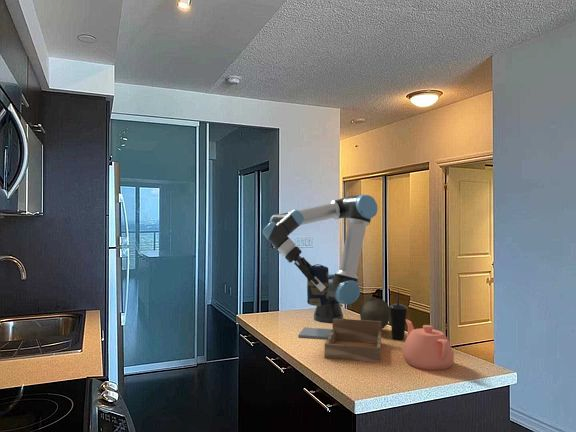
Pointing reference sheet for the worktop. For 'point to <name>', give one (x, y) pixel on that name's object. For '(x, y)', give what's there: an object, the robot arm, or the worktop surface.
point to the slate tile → (315, 333)
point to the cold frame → (354, 340)
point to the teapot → (427, 348)
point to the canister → (313, 292)
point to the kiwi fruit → (375, 311)
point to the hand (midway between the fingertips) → (325, 287)
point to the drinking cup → (398, 320)
